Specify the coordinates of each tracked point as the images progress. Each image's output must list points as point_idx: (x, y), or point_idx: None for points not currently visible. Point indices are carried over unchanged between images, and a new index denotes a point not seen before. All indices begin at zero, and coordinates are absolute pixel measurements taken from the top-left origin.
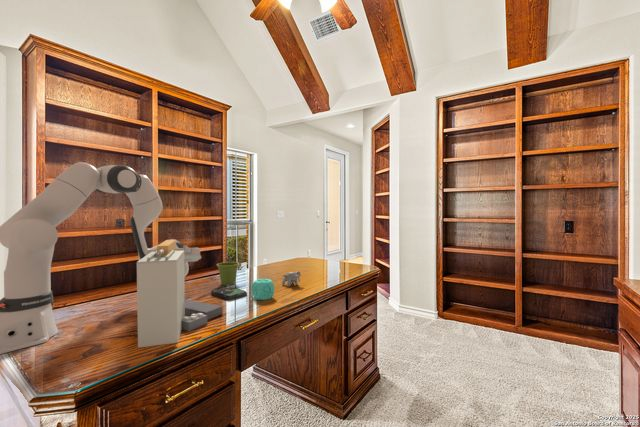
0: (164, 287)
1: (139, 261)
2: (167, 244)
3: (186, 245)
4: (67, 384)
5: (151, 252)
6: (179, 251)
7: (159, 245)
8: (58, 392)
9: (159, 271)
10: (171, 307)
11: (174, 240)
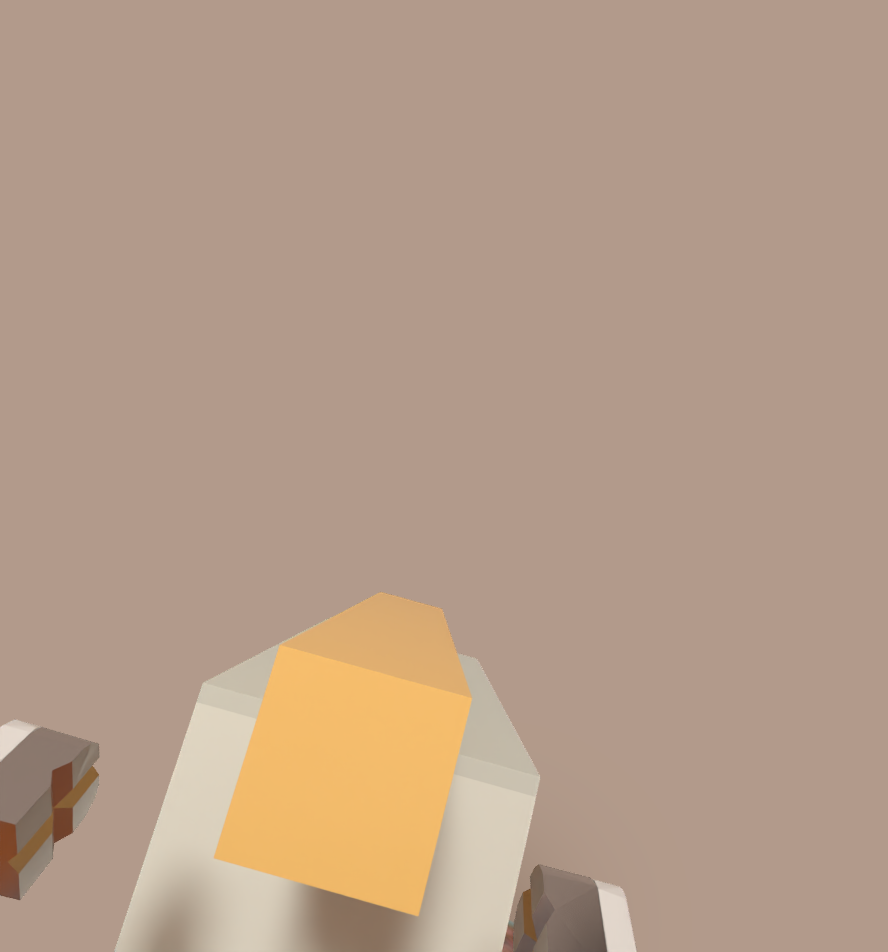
0: None
1: (469, 658)
2: (389, 599)
3: (26, 723)
4: (508, 943)
5: (522, 754)
6: (266, 679)
7: (432, 607)
8: (508, 922)
9: None
10: None
11: (324, 624)
